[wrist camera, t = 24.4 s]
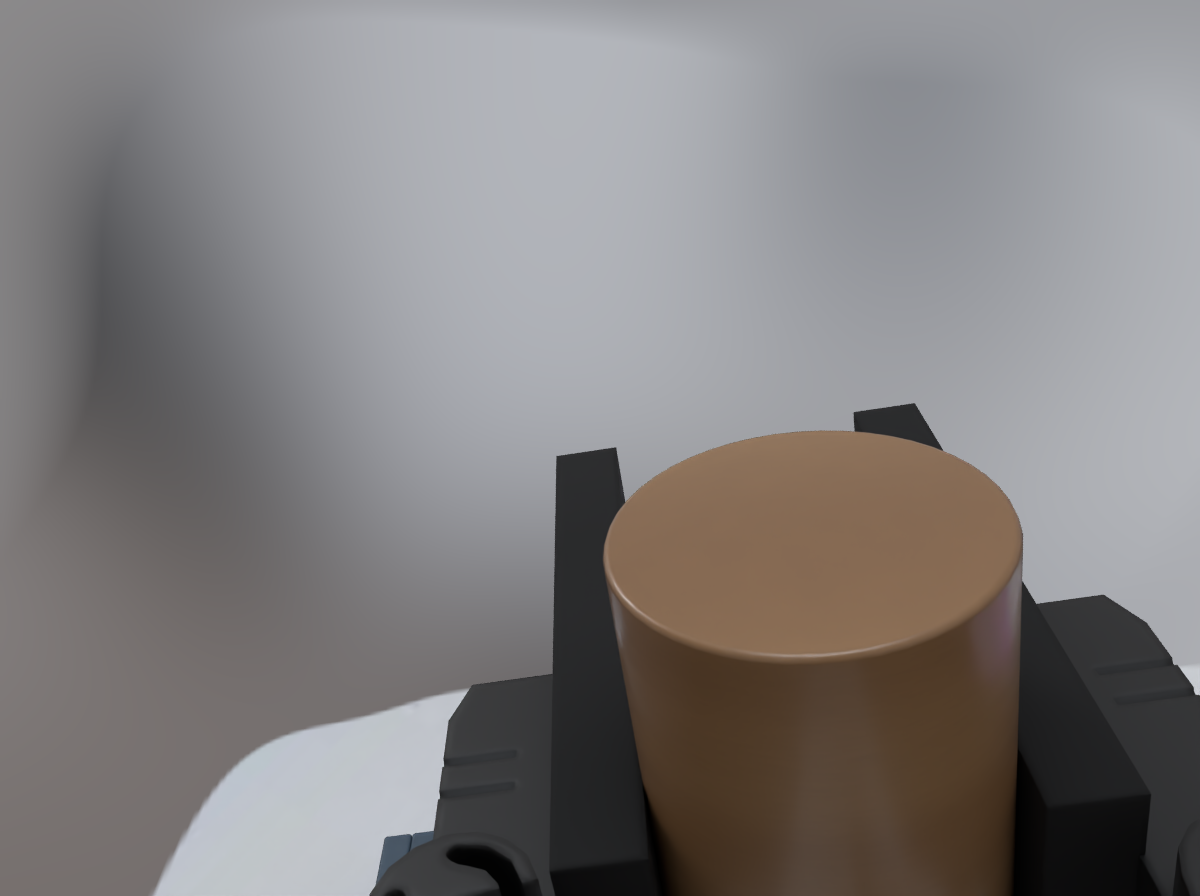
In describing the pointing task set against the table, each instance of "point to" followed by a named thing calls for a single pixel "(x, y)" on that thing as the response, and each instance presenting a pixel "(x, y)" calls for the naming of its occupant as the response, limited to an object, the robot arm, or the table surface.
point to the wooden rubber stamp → (823, 667)
